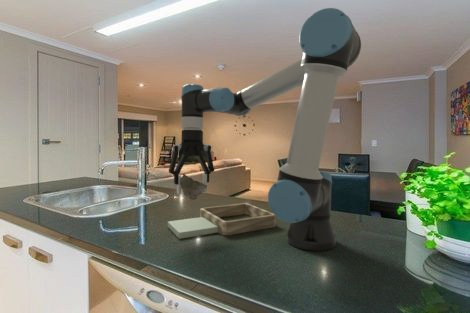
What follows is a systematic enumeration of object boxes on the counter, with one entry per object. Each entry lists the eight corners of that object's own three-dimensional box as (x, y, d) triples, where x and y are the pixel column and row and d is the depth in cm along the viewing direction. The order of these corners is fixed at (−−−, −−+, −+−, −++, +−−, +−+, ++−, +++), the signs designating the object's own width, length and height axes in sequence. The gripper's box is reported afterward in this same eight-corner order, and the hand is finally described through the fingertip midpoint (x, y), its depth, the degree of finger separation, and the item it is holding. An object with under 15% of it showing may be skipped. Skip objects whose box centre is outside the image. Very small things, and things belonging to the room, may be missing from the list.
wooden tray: (276, 226, 104) (277, 214, 104) (223, 235, 93) (224, 222, 93) (246, 212, 123) (246, 202, 123) (199, 219, 113) (199, 208, 112)
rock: (194, 198, 89) (178, 174, 92) (184, 208, 91) (169, 185, 94) (214, 192, 98) (200, 170, 101) (205, 202, 101) (191, 181, 104)
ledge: (217, 232, 97) (217, 226, 96) (179, 238, 90) (179, 232, 90) (202, 221, 109) (202, 216, 109) (167, 226, 102) (167, 221, 102)
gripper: (215, 130, 106) (215, 188, 107) (158, 128, 95) (158, 193, 97) (224, 130, 99) (223, 191, 101) (164, 128, 89) (164, 197, 90)
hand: (191, 192), depth 99 cm, fingers closed on rock, 9 cm apart
